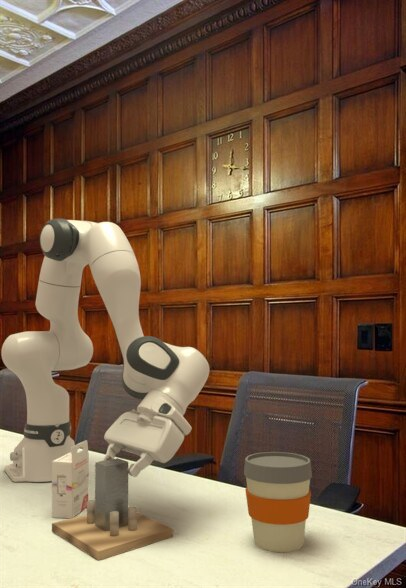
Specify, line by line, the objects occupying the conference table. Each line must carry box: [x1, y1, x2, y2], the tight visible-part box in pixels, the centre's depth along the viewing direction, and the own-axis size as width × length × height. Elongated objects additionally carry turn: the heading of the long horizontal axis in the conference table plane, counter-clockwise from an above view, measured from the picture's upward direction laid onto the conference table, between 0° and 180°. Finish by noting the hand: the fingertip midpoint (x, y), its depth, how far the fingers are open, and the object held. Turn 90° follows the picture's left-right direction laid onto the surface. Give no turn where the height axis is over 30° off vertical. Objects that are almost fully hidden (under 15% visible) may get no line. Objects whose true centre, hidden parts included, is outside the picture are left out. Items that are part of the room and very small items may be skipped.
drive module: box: [94, 457, 129, 531], centre depth 104 cm, size 4×5×12 cm
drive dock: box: [51, 499, 174, 561], centre depth 104 cm, size 18×16×6 cm
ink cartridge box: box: [51, 439, 90, 519], centre depth 117 cm, size 9×5×15 cm, turn 168°
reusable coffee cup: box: [243, 451, 313, 553], centre depth 99 cm, size 12×13×15 cm
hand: (117, 469), depth 105 cm, fingers open, 8 cm apart
